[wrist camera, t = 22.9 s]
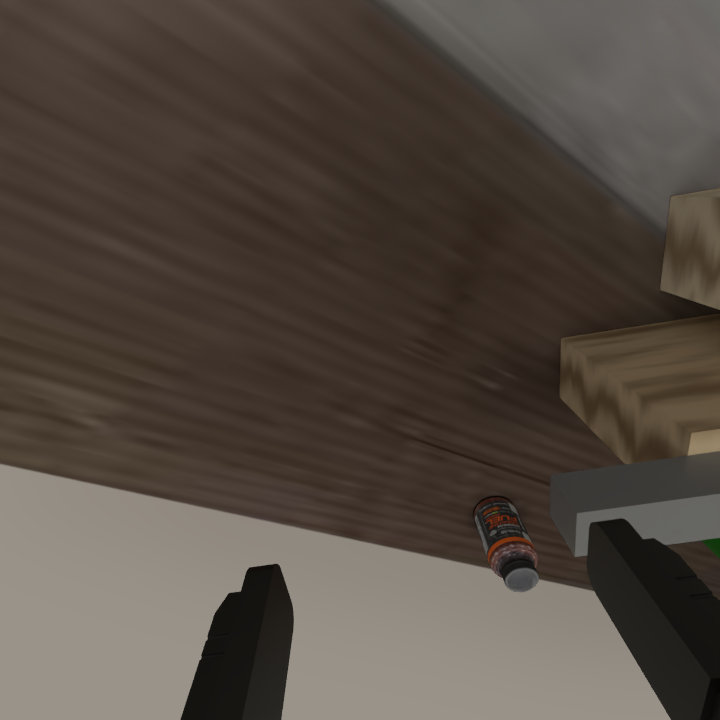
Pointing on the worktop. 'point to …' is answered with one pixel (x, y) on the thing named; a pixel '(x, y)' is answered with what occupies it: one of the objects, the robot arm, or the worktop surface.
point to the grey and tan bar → (641, 499)
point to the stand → (658, 354)
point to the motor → (713, 545)
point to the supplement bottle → (507, 543)
